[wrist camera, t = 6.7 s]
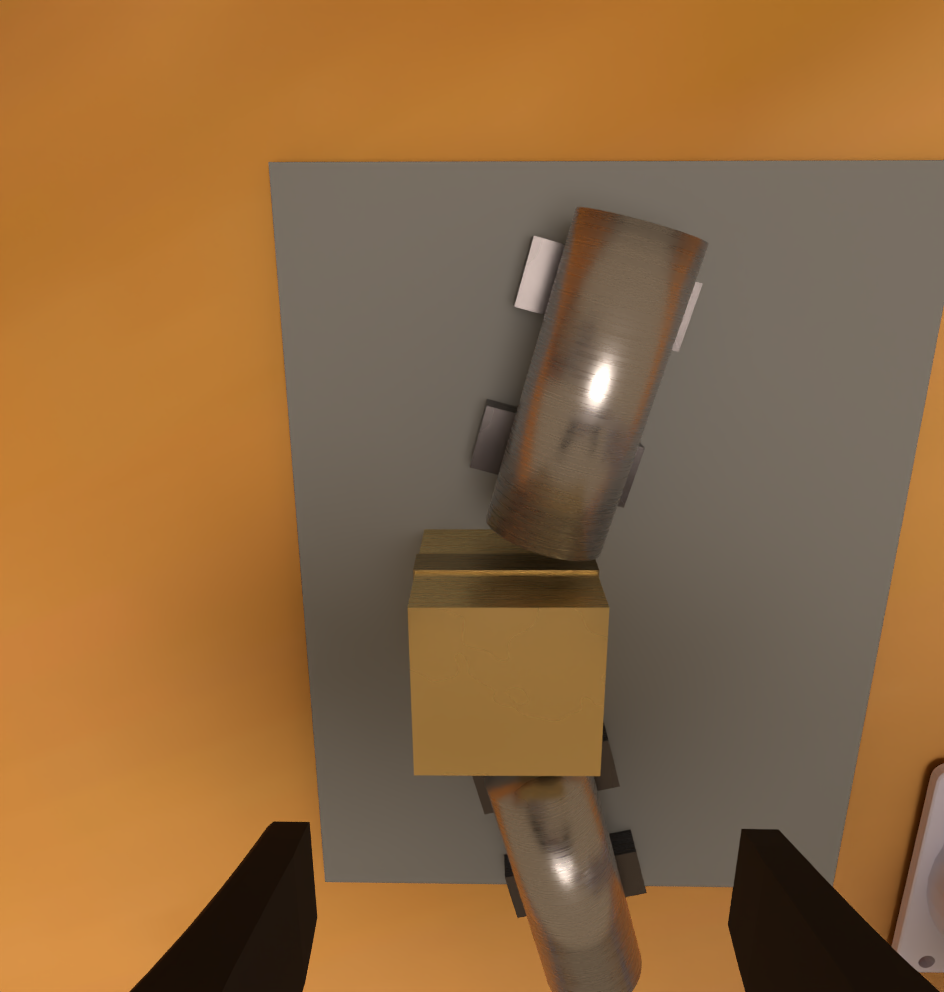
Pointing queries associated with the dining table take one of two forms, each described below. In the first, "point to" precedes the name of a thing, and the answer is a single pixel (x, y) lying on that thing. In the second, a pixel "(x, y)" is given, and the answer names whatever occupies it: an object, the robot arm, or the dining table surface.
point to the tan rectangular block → (505, 659)
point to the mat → (653, 495)
